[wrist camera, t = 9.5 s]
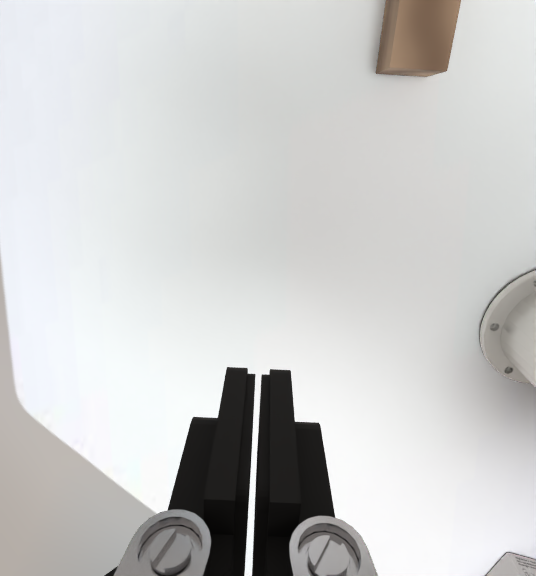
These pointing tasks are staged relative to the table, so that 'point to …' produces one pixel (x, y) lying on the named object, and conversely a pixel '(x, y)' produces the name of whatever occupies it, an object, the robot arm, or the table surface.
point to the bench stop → (417, 37)
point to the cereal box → (514, 566)
